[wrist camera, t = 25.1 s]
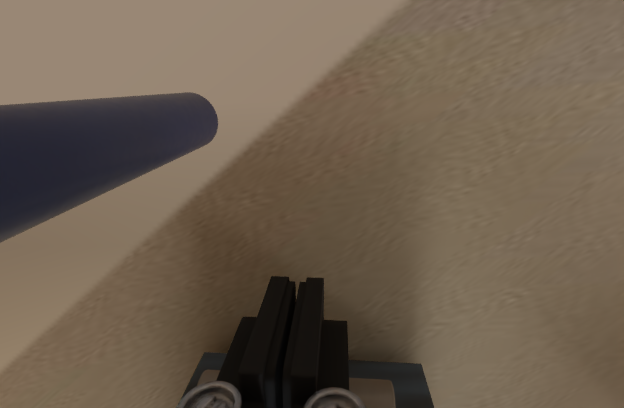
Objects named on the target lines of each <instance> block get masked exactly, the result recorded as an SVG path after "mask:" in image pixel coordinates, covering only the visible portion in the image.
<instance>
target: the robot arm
mask: <svg viewBox="0 0 624 408" xmlns="http://www.w3.org/2000/svg"><path fill="white" fill-rule="evenodd" d="M176 408H366V406H365V404H364V402H363V401H362V400H361V399H360V398H359V397H358V396H357V395H356V394H354V393H353V392H351V391H349V363H348V333H347V321H335V320H324V278H309V277H307V279H306V282H300V284H299V289H298V294H297V299H296V287H295V282H294V281H289V277H280V276H271V279H270V282H269V284H268V287H267V290H266V293H265V296H264V299H263V302H262V304H261V307H260V310H259V313H258V316H257V317H243V318H242V319H241V321H240V324H239V326H238V329H237V331H236V333H235V336H234V338H233V341H232V343H231V346H230V348H229V350H228V353H227V355H226V358H225V360H224V363H223V365H222V367H221V370H220V372H219V375H218V377H217V380H216V381H210V382H205V383H203V384H201V385H198V386H196V387H195V388H193V389H192V390H190V391H189V392H188V393H187V394H186V395H185V396H184V397H183V398H182V399H181V401H180V402H179V403H178V405H177V406H176Z"/></svg>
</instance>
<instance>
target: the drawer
mask: <svg viewBox="0 0 624 408" xmlns="http://www.w3.org/2000/svg"><path fill="white" fill-rule="evenodd" d="M226 355H227V353H211V352H204V354H203V356H202V358H201V360H200V362H199V364H198V366H197V368H196V370H195V372H194V374H193V376H192V378H191V380H190V382H189V384H188V386H187V388H186V390H185V392H184V394H183V396H182V398H183V397H184V396H185V395H186V394H187V393H188V392H189V391H190V390H192V389H193V388H195V387H196V386H198V385H201V384H203V383H205V382H210V381H216V380H217V377H218V375H219V372H220V370H221V367H222V365H223V363H224V360H225V358H226ZM348 363H349V391H351V392H353V393H354V394H356V395H357V396H358V397H359V398H360V399H361V400H362V401H363V402H364V404H365V406H366V408H434V406H433V402H432V399H431V395H430V392H429V389H428V385H427V382H426V378H425V375H424V372H423V368H422V365H421V364H414V363H396V362H378V361H359V360H348ZM182 398H181V399H182ZM180 401H181V400H180Z"/></svg>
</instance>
